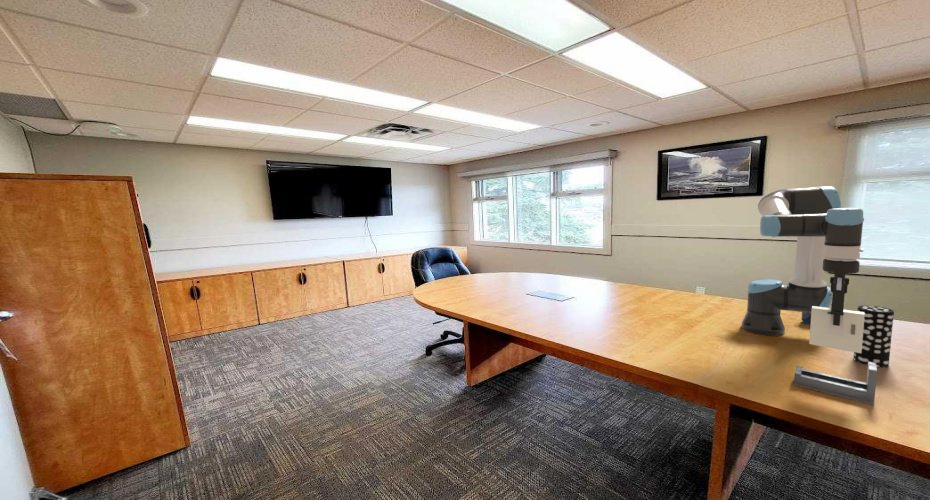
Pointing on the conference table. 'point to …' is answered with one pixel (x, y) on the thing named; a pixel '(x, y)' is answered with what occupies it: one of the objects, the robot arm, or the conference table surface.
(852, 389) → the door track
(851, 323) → the door panel
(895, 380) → the conference table surface
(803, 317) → the soda can
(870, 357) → the white-spotted black cylinder
